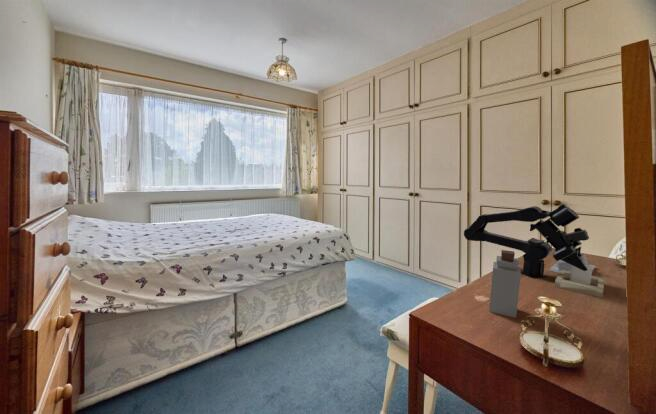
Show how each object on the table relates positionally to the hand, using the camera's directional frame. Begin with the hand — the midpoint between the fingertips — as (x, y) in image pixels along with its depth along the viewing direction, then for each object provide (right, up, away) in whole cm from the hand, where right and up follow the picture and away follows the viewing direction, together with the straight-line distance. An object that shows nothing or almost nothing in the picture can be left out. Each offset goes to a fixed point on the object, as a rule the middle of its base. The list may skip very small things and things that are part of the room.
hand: (586, 269), depth 104 cm
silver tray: (+11, -4, +19) cm, 23 cm away
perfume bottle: (-41, -9, -17) cm, 45 cm away
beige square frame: (-1, -6, +2) cm, 7 cm away
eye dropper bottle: (-1, -7, +2) cm, 7 cm away
